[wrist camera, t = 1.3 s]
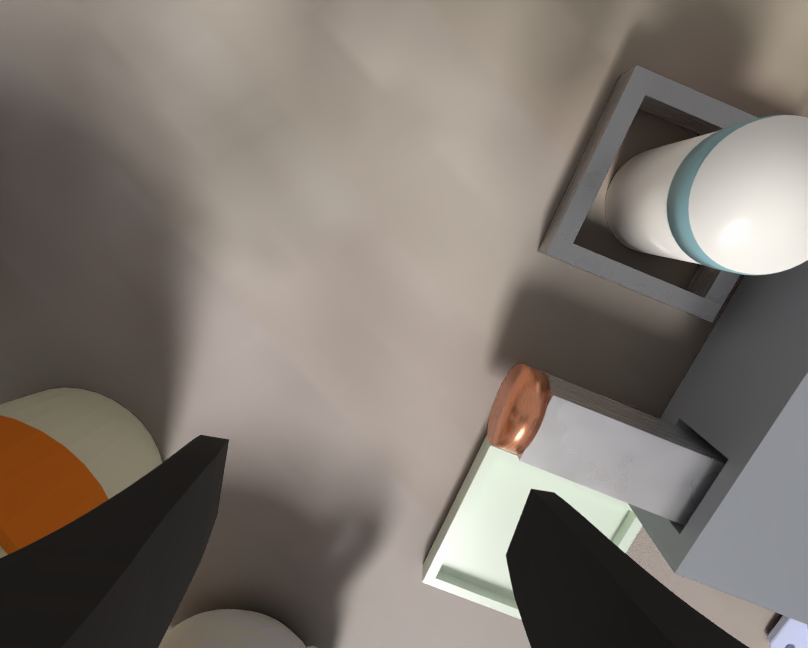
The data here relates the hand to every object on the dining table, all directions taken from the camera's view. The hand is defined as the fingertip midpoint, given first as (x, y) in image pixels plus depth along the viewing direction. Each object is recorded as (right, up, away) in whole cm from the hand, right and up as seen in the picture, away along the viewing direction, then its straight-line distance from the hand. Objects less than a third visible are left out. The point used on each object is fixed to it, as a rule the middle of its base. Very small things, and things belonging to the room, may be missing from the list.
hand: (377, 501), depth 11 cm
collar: (+12, +9, +9) cm, 17 cm away
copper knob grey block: (+9, 0, +11) cm, 14 cm away
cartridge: (+12, +9, +9) cm, 18 cm away
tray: (+7, -7, +13) cm, 17 cm away
